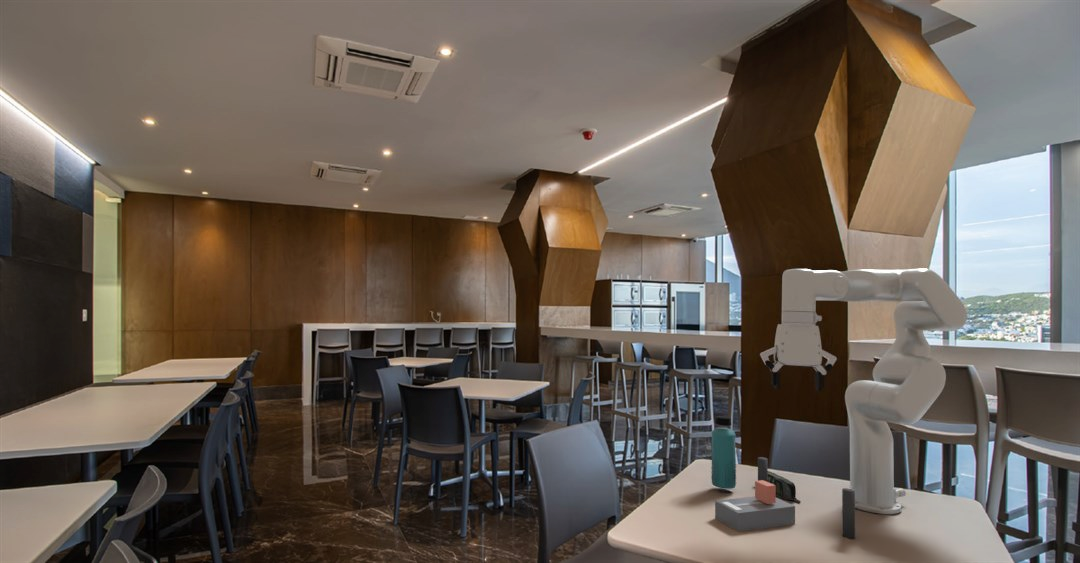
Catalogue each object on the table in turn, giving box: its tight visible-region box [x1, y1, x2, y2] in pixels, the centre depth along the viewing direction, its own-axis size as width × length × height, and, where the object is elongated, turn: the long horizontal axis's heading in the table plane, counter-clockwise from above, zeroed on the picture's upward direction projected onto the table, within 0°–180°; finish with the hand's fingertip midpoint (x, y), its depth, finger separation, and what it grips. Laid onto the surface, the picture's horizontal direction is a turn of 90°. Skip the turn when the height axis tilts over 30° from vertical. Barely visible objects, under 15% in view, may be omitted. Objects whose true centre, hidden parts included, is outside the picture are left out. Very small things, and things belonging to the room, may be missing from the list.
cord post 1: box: [757, 456, 769, 482], centre depth 142 cm, size 2×2×10 cm
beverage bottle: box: [710, 415, 737, 490], centre depth 146 cm, size 6×7×20 cm
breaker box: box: [714, 495, 796, 532], centre depth 125 cm, size 16×8×4 cm, turn 109°
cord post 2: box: [841, 487, 856, 540], centre depth 117 cm, size 2×2×10 cm
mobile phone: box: [768, 470, 802, 504], centre depth 144 cm, size 5×3×15 cm
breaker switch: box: [754, 480, 777, 504], centre depth 126 cm, size 2×4×4 cm, turn 20°
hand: (797, 389), depth 131 cm, fingers open, 9 cm apart
